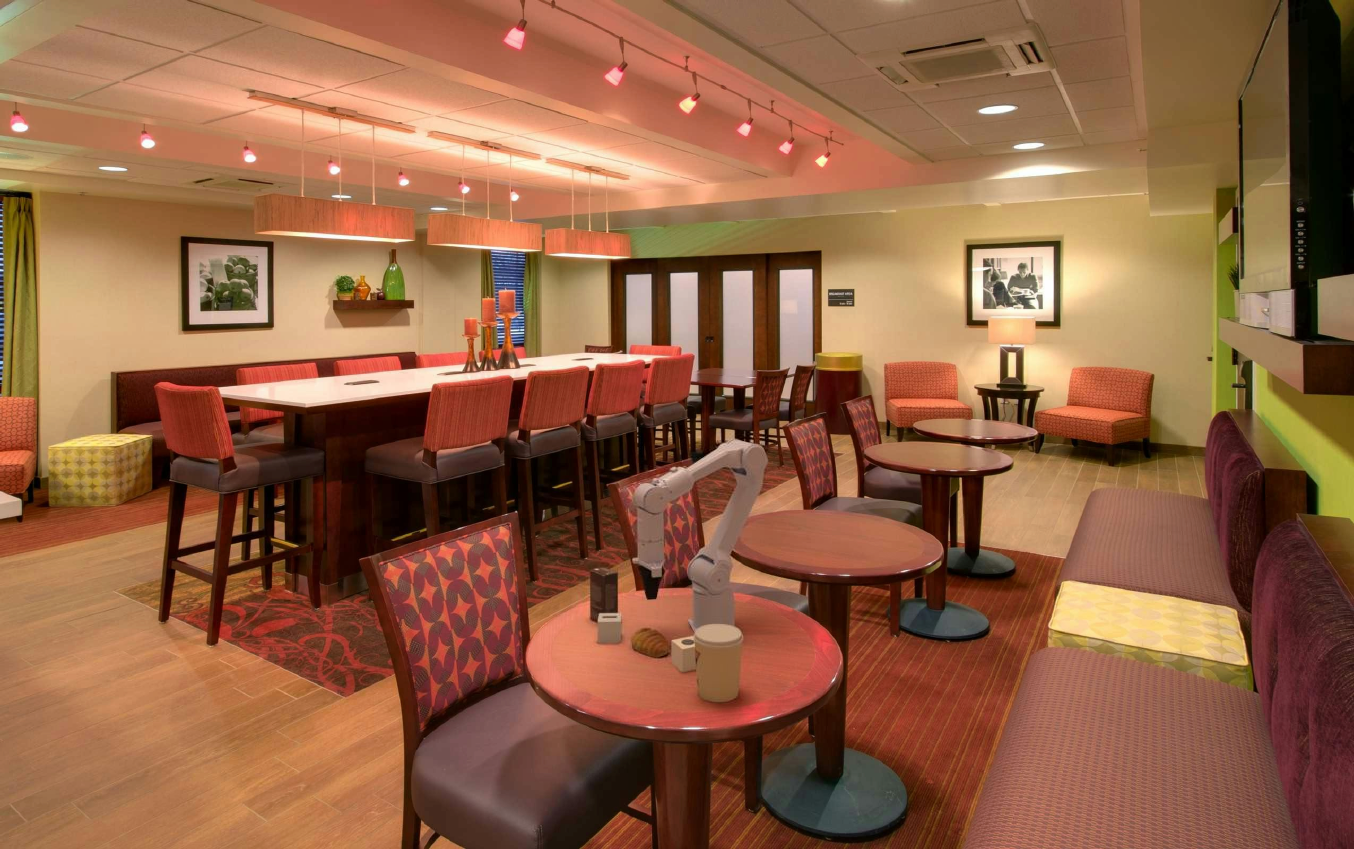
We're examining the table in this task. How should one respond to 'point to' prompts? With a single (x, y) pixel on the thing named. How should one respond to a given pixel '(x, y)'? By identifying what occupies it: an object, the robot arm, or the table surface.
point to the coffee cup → (718, 661)
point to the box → (603, 592)
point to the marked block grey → (609, 628)
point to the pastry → (650, 642)
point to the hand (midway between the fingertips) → (651, 598)
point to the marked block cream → (684, 654)
